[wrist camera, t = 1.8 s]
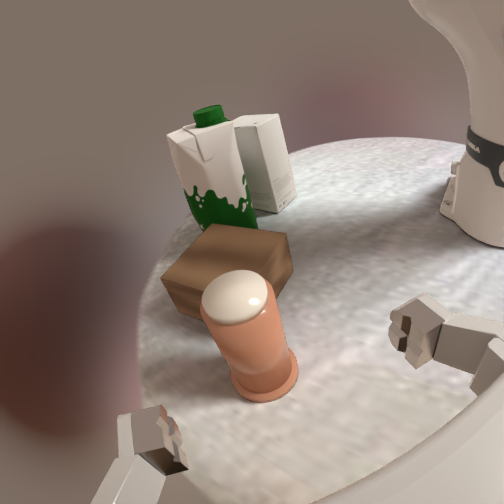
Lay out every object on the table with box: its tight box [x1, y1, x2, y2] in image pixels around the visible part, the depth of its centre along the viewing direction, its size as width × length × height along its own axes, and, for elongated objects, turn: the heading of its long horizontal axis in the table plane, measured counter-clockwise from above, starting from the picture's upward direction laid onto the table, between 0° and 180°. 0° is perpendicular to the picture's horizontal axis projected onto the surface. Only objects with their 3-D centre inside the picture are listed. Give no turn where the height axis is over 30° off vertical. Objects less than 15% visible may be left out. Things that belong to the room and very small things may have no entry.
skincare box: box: [231, 114, 297, 213], centre depth 51 cm, size 8×7×16 cm
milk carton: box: [166, 105, 258, 232], centre depth 44 cm, size 9×9×20 cm
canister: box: [200, 270, 298, 403], centre depth 26 cm, size 7×7×12 cm
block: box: [160, 224, 293, 321], centre depth 38 cm, size 11×11×6 cm
